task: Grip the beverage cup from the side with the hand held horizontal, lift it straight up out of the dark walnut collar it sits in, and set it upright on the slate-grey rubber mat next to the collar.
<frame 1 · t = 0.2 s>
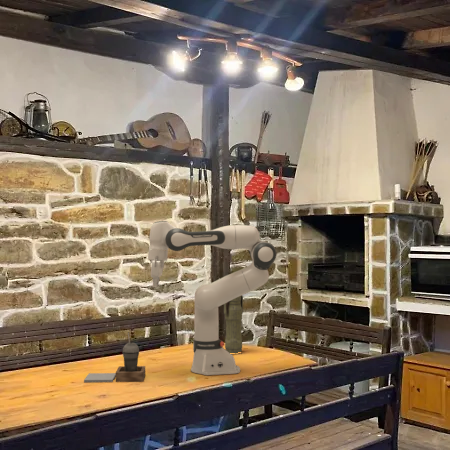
hand: (155, 286, 277), 38 cm above the table, tool pointing down, fingers open, 8 cm apart
walnut collar: (130, 378, 263), on the table
beverage cup: (130, 378, 263), resting in walnut collar
slate mat: (100, 378, 263), on the table
thermos: (233, 353, 319), on the table
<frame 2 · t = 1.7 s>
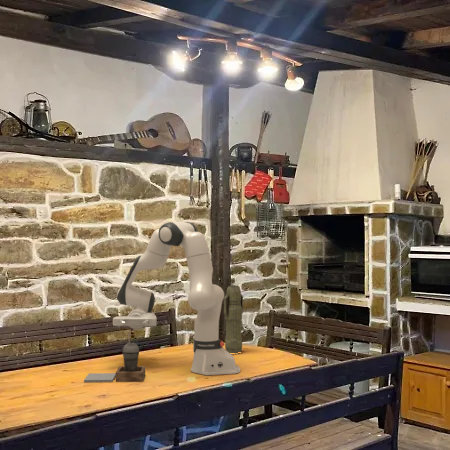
hand: (133, 323, 276), 22 cm above the table, tool horizontal, fingers open, 8 cm apart
nothing on the table moved.
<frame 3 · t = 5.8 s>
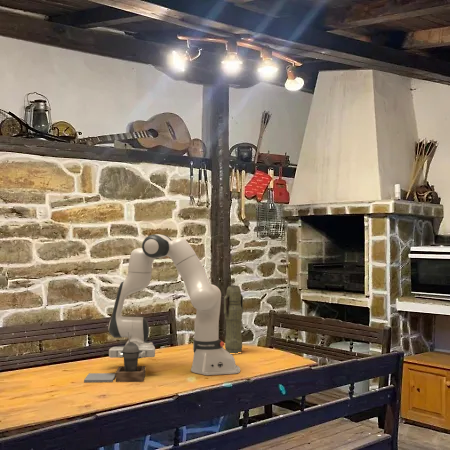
hand: (130, 355, 263), 10 cm above the table, tool horizontal, fingers closed on beverage cup, 7 cm apart
beverage cup: (130, 378, 263), resting in walnut collar, touching gripper
everything else where it was.
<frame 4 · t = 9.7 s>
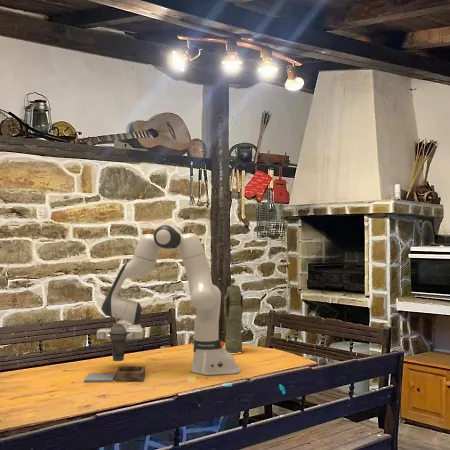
hand: (118, 337, 263), 18 cm above the table, tool horizontal, fingers closed on beverage cup, 7 cm apart
beverage cup: (118, 360, 263), point 8 cm above the table, touching gripper
everything else where it was.
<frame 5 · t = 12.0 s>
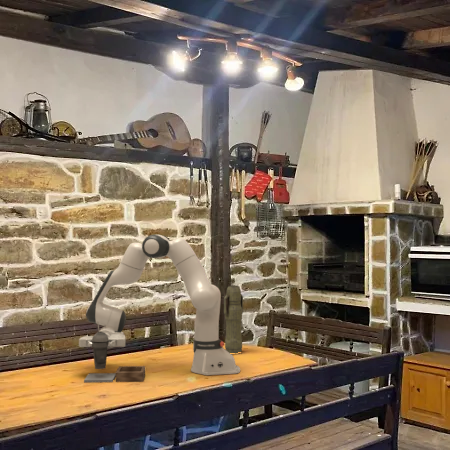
hand: (100, 345, 262), 15 cm above the table, tool horizontal, fingers closed on beverage cup, 7 cm apart
beverage cup: (100, 368, 263), point 4 cm above the table, touching gripper
everything else where it was.
when the fingers open (12 cm above the table, at t = 13.5 s): beverage cup stays where it is, resting on slate mat.
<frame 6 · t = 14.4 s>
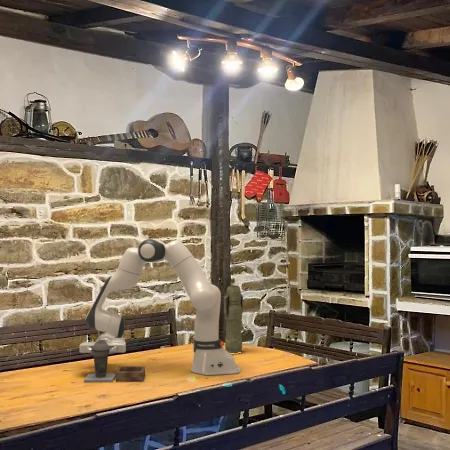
hand: (100, 350, 263), 12 cm above the table, tool horizontal, fingers open, 8 cm apart
beverage cup: (100, 376, 263), point 1 cm above the table, touching slate mat
everything else where it was.
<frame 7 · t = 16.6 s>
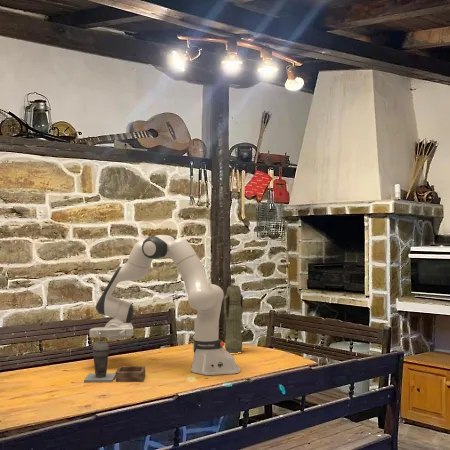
hand: (109, 334, 276), 17 cm above the table, tool horizontal, fingers open, 8 cm apart
nothing on the table moved.
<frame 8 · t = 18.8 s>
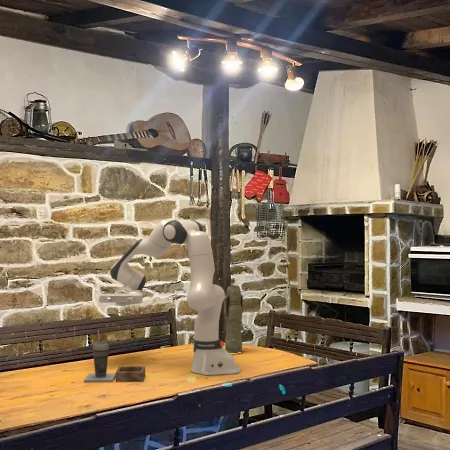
hand: (119, 300, 280), 32 cm above the table, tool horizontal, fingers open, 8 cm apart
nothing on the table moved.
at the end: beverage cup 0.1 cm off-centre on the slate mat, point 0.8 cm above the slate mat's base; beverage cup tilted 0°; the gripper is holding nothing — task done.
